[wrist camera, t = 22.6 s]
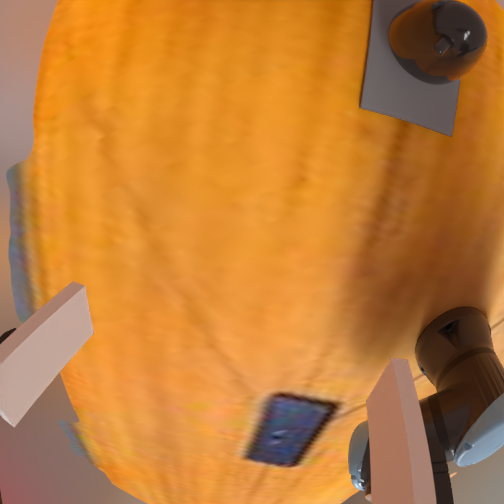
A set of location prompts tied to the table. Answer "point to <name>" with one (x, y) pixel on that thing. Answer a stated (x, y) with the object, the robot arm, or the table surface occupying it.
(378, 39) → the mat
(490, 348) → the robot arm
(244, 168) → the table surface
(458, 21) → the pump dispenser
